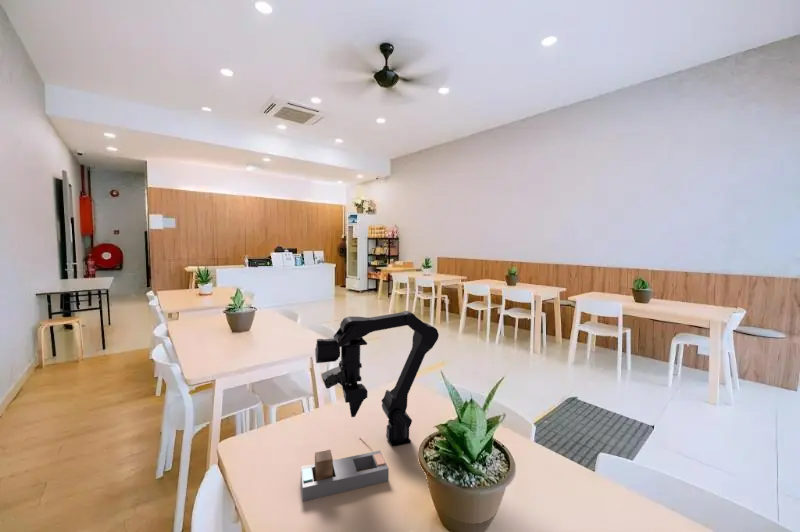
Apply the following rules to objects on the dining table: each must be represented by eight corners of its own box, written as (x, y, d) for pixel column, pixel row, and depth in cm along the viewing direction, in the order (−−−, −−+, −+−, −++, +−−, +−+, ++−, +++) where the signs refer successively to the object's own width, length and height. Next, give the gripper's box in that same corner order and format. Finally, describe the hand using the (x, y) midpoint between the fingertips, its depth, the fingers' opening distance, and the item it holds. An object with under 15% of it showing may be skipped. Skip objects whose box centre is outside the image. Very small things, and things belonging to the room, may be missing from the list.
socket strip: (379, 462, 96) (380, 449, 95) (388, 480, 88) (388, 467, 88) (300, 479, 88) (300, 465, 88) (302, 501, 80) (302, 486, 80)
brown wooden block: (330, 478, 89) (330, 449, 88) (332, 488, 85) (332, 458, 84) (314, 481, 87) (314, 452, 87) (316, 492, 84) (316, 462, 83)
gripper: (319, 352, 106) (319, 399, 107) (327, 374, 88) (327, 430, 89) (354, 349, 109) (353, 394, 111) (368, 369, 92) (367, 423, 93)
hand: (350, 409), depth 101 cm, fingers open, 9 cm apart
